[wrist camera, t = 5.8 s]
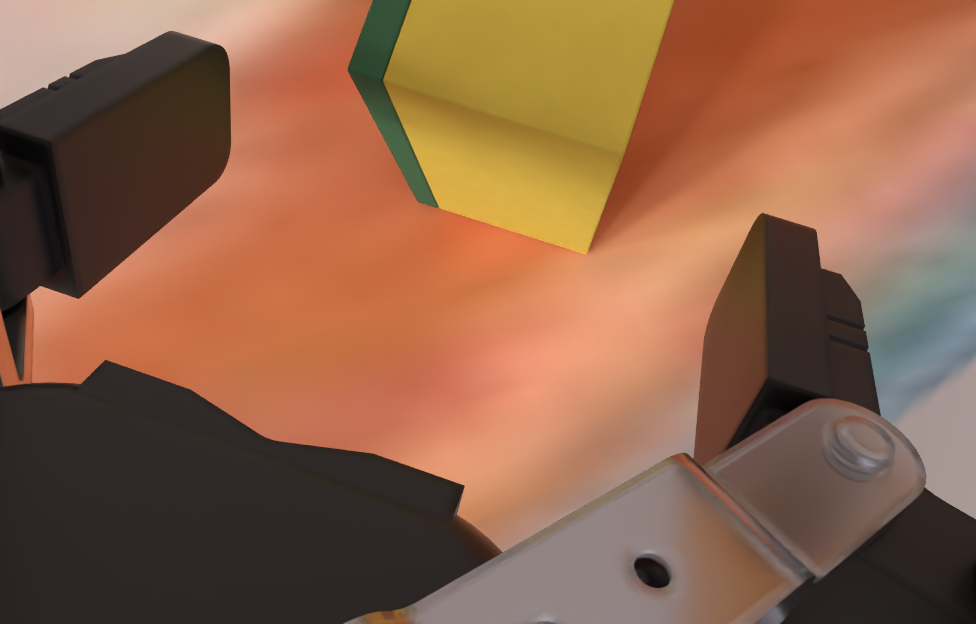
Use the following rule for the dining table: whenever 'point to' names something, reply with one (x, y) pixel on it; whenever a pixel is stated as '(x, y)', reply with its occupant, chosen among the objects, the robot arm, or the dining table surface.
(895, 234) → the dining table surface
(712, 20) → the dining table surface
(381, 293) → the dining table surface
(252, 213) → the dining table surface
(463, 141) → the sponge
